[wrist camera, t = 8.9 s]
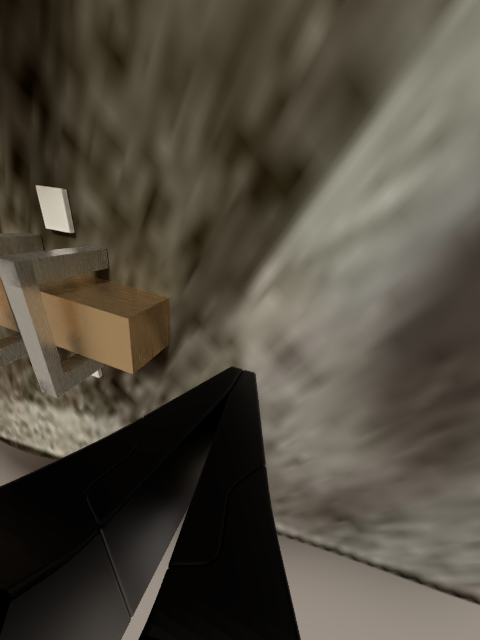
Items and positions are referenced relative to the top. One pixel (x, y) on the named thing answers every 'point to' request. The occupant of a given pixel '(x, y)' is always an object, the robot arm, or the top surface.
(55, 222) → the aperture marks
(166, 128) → the top surface
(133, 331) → the banded wooden block
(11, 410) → the top surface
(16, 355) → the collar
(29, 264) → the collar
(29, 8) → the top surface
